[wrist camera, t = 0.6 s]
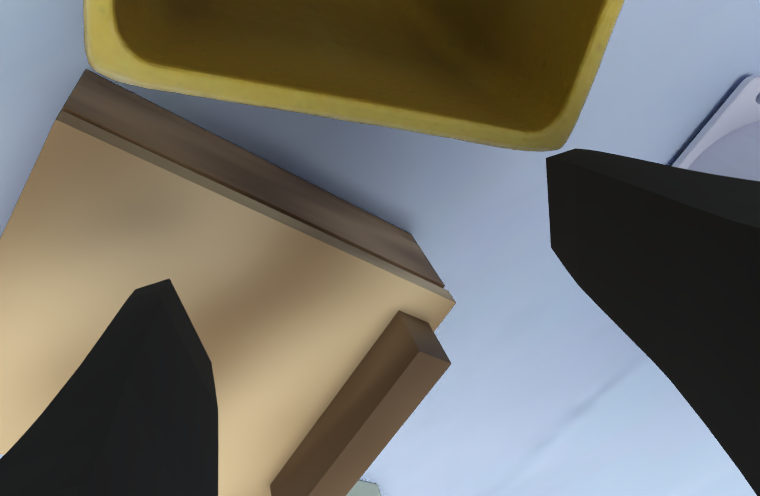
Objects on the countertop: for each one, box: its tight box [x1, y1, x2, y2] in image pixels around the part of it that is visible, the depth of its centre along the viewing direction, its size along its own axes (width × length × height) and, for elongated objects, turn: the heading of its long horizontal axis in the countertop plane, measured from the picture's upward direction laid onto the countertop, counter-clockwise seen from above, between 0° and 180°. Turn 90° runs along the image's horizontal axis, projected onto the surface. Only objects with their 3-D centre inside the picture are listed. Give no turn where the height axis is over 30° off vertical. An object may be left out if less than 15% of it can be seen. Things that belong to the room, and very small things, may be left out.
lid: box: [0, 110, 456, 496], centre depth 17 cm, size 12×10×3 cm
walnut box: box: [62, 69, 445, 288], centre depth 20 cm, size 12×10×4 cm
